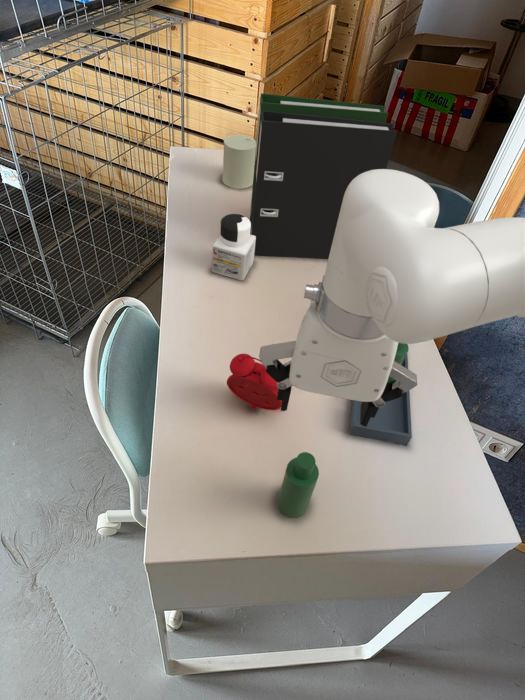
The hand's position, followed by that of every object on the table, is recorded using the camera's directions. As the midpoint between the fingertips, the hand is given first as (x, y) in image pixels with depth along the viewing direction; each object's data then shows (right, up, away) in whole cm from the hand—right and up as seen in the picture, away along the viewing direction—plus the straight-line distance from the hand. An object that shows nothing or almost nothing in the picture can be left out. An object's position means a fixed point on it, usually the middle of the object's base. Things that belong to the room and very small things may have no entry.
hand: (323, 409), depth 58 cm
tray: (+16, +4, +38) cm, 41 cm away
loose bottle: (-3, -17, +17) cm, 24 cm away
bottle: (+15, +1, +34) cm, 37 cm away
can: (-15, +56, +82) cm, 101 cm away
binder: (+3, +34, +65) cm, 73 cm away
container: (-14, +26, +55) cm, 63 cm away
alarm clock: (-9, -3, +29) cm, 30 cm away
